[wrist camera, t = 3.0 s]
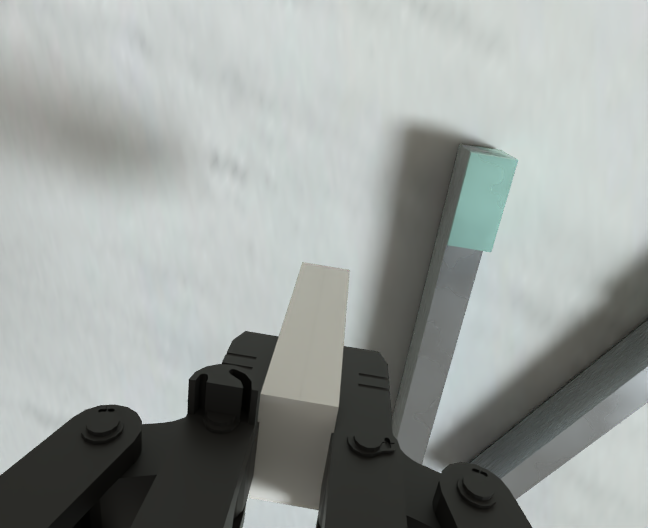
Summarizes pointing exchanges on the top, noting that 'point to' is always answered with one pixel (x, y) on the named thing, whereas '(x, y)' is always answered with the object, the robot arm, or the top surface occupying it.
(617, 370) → the arm
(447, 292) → the tongs free arm
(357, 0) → the top surface
